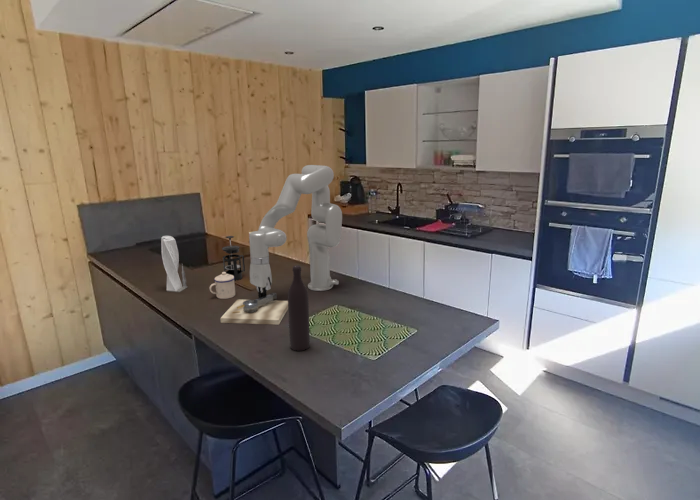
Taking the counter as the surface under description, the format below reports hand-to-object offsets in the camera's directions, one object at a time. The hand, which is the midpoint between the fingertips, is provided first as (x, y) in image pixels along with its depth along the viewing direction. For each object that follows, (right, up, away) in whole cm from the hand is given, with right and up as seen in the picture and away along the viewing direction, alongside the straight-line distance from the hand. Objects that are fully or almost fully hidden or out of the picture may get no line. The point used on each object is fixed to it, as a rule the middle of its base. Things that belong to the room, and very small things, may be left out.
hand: (262, 299), depth 181 cm
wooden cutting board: (-1, -5, -6) cm, 8 cm away
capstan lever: (-1, -2, -6) cm, 6 cm away
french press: (-23, +7, +38) cm, 45 cm away
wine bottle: (+21, -13, -34) cm, 42 cm away
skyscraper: (-48, +2, +22) cm, 53 cm away
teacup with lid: (-22, 0, +13) cm, 25 cm away
